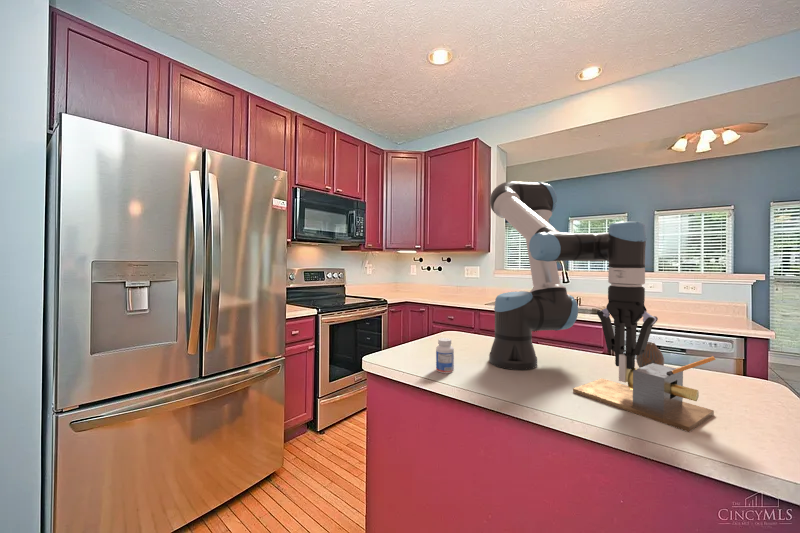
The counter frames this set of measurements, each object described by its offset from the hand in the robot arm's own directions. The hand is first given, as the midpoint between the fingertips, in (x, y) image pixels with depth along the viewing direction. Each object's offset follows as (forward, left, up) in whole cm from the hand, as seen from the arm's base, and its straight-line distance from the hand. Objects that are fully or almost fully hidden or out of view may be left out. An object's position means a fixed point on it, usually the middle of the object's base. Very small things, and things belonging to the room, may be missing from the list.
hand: (624, 380), depth 84 cm
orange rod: (+14, 0, +7) cm, 16 cm away
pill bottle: (-40, -24, -5) cm, 47 cm away
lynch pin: (+8, 0, -2) cm, 8 cm away
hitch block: (+3, 0, -5) cm, 5 cm away
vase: (-6, +29, -5) cm, 30 cm away
